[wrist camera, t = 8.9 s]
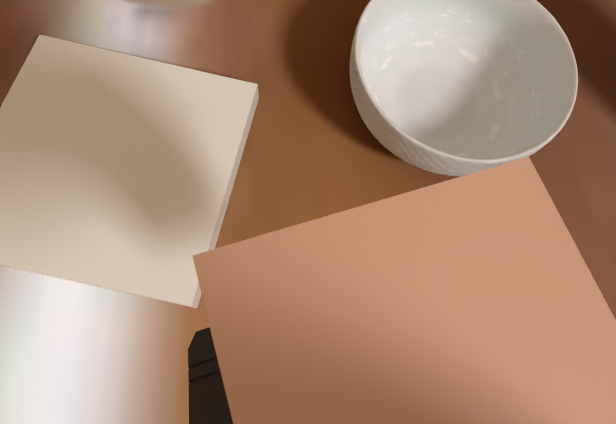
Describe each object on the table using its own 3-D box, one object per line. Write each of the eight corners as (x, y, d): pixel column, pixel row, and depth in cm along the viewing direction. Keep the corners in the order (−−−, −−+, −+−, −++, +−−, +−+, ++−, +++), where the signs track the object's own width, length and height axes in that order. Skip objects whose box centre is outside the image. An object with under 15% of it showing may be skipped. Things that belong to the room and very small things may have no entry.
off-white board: (53, 51, 33) (39, 34, 31) (258, 98, 34) (257, 84, 32) (-52, 253, 28) (-76, 247, 26) (197, 308, 28) (191, 306, 26)
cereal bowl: (352, 16, 37) (369, -55, 31) (521, 50, 38) (574, -12, 31) (324, 176, 32) (338, 133, 25) (521, 215, 32) (586, 182, 26)
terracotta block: (249, 311, 15) (192, 255, 5) (365, 273, 16) (528, 156, 6) (286, 447, 14) (317, 766, 4) (412, 398, 15) (732, 541, 4)
